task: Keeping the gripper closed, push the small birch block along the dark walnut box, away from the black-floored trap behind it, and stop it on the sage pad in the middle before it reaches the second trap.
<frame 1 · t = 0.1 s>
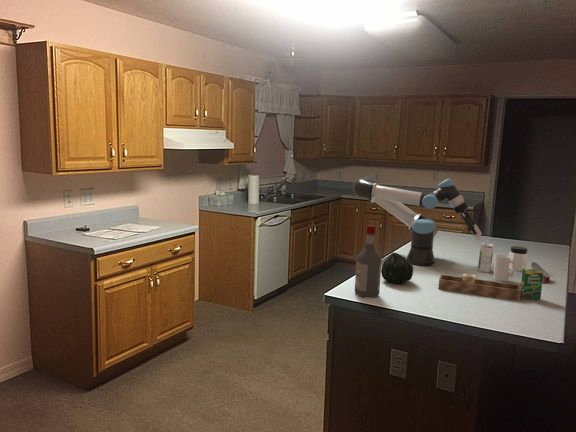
hand: (479, 237, 265), 15 cm above the counter, tool tilted 35°, fingers open, 13 cm apart
mug: (503, 280, 237), on the counter
canned food: (538, 280, 240), on the counter
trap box: (478, 291, 216), on the counter
coffee box: (529, 299, 209), on the counter
squash: (396, 282, 227), on the counter
syrup box: (484, 271, 254), on the counter
liquor: (366, 294, 207), on the counter
birch block: (468, 285, 218), point 2 cm above the counter, touching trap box
jar: (516, 269, 260), on the counter
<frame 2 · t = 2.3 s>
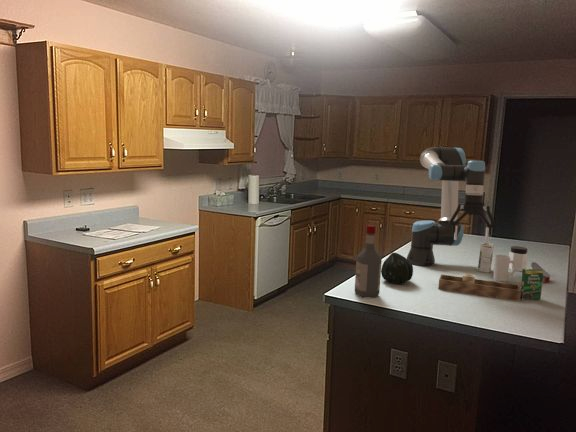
hand: (470, 240, 221), 22 cm above the counter, tool pointing down, fingers open, 13 cm apart
nothing on the counter moved.
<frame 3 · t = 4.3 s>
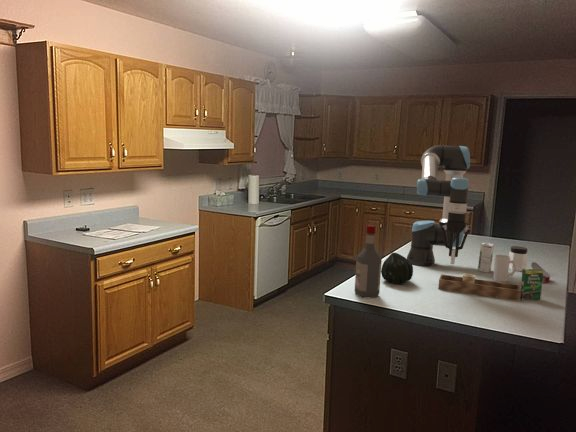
hand: (452, 263, 219), 12 cm above the counter, tool pointing down, fingers closed
nothing on the counter moved.
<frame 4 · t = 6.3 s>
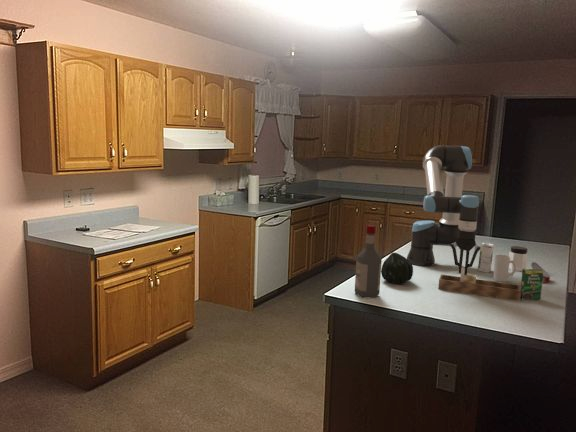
hand: (462, 280, 218), 4 cm above the counter, tool pointing down, fingers closed
birch block: (469, 285, 218), point 3 cm above the counter, touching gripper
everything else where it was.
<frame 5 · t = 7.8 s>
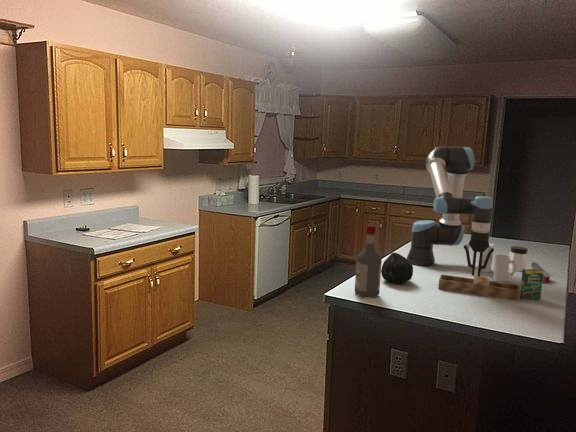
hand: (475, 282, 216), 4 cm above the counter, tool pointing down, fingers closed
birch block: (482, 287, 215), point 2 cm above the counter, touching gripper, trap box
everything else where it was.
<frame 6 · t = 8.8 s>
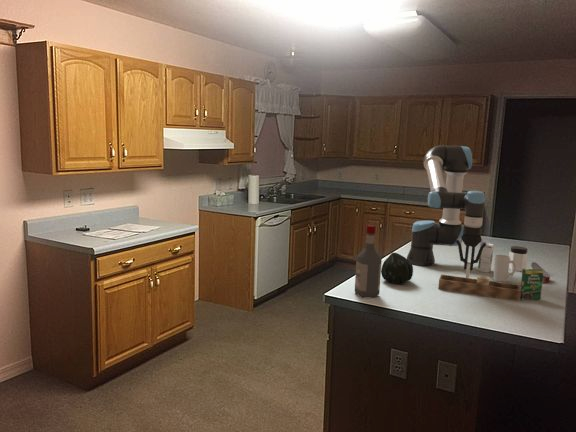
hand: (467, 276, 218), 6 cm above the counter, tool pointing down, fingers closed
birch block: (482, 287, 215), point 2 cm above the counter, touching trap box
everything else where it was.
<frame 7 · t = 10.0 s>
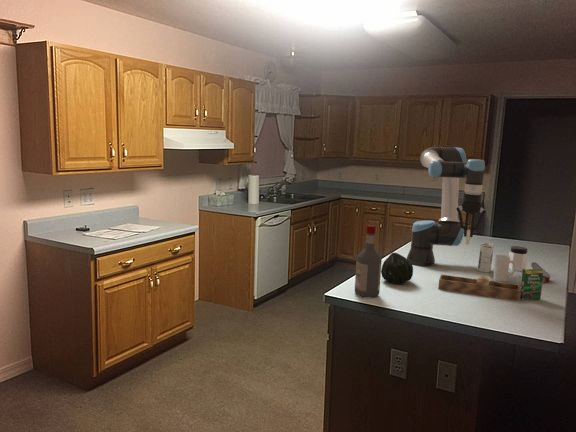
hand: (467, 243, 224), 20 cm above the counter, tool pointing down, fingers closed
nothing on the counter moved.
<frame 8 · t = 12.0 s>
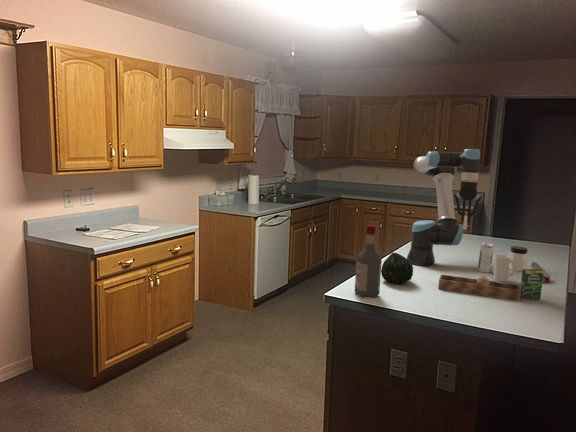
hand: (464, 229, 236), 24 cm above the counter, tool pointing down, fingers closed
nothing on the counter moved.
at the end: birch block 0.8 cm from the target spot, point 2.5 cm above the counter; birch block tilted 0°; birch block moved 6.0 cm from its start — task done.
